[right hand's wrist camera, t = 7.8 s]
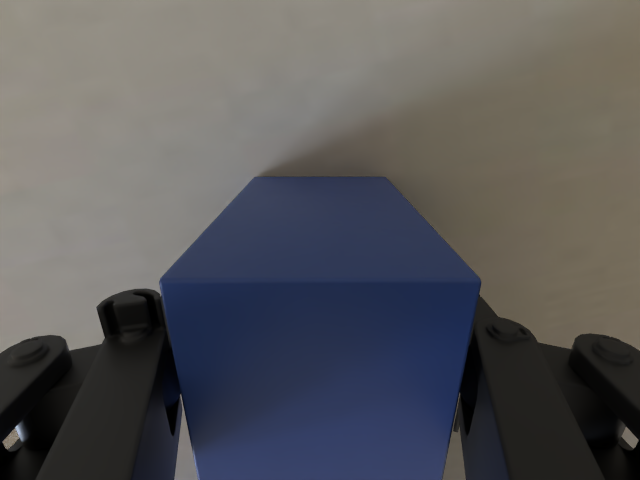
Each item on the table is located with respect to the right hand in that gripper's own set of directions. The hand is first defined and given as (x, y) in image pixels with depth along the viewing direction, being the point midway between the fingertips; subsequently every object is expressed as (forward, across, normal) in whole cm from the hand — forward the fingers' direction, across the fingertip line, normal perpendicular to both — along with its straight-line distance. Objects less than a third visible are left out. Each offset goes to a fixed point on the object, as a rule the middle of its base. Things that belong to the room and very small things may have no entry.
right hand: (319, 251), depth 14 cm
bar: (+1, 0, -12) cm, 12 cm away
